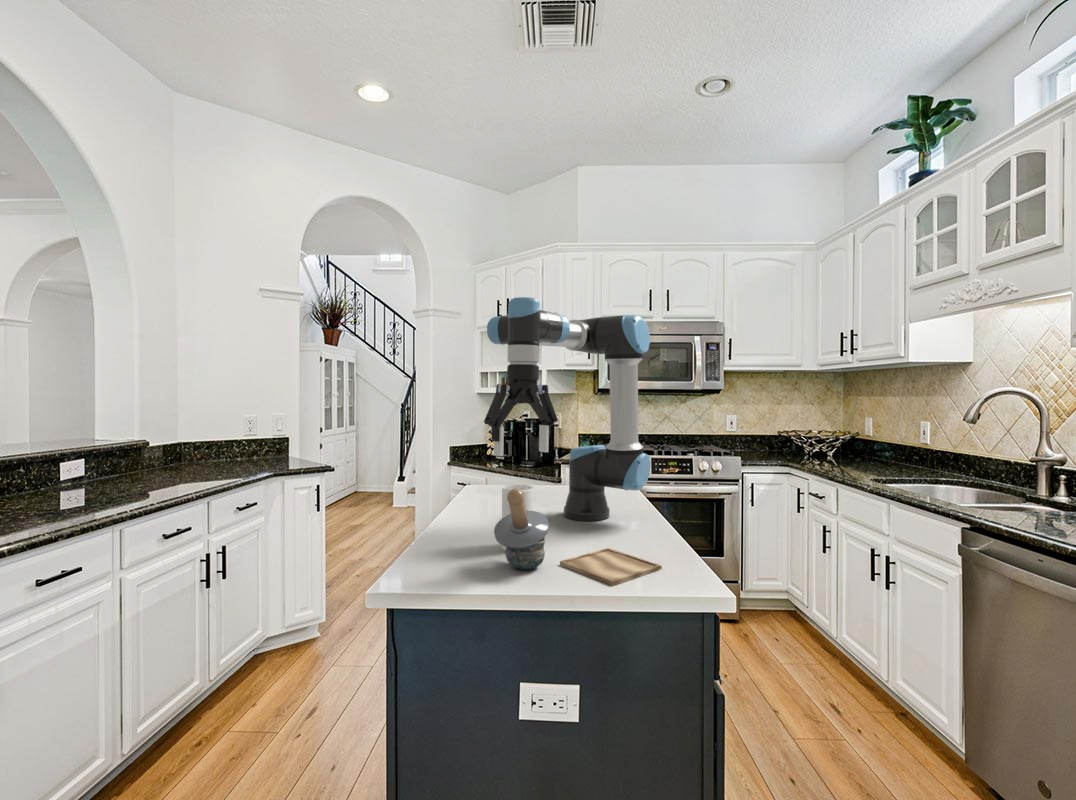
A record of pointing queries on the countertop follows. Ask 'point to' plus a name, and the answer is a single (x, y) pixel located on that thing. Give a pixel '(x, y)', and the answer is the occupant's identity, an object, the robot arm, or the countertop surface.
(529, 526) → the lid
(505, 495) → the cup
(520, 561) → the mug
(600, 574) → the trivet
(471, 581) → the countertop surface
